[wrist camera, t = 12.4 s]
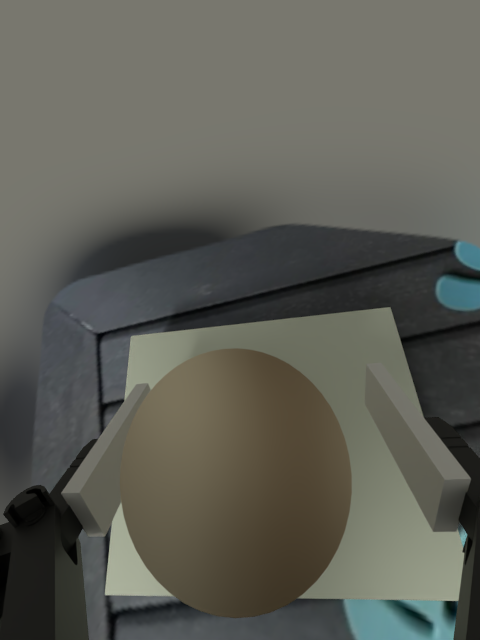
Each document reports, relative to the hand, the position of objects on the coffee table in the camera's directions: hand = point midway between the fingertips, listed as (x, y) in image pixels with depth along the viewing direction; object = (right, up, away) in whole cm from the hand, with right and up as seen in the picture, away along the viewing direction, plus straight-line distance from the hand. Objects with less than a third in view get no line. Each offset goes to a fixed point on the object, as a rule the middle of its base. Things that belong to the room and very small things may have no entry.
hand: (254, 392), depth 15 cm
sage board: (+1, -5, +5) cm, 7 cm away
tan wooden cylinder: (+1, -5, +5) cm, 7 cm away
